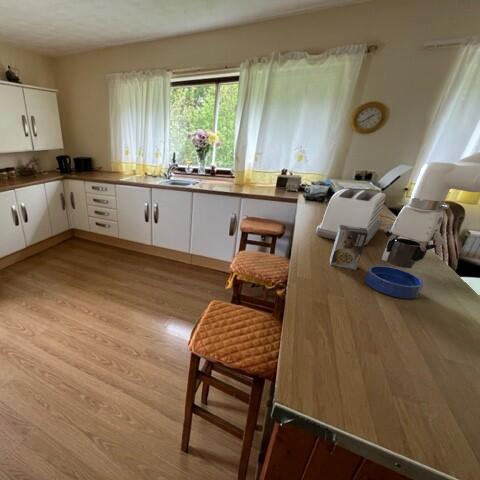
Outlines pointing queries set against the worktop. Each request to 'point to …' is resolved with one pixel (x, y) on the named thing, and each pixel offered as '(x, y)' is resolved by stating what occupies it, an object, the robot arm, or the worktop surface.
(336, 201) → the toaster
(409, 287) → the bowl
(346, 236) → the coffee box
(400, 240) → the cup
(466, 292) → the worktop surface
